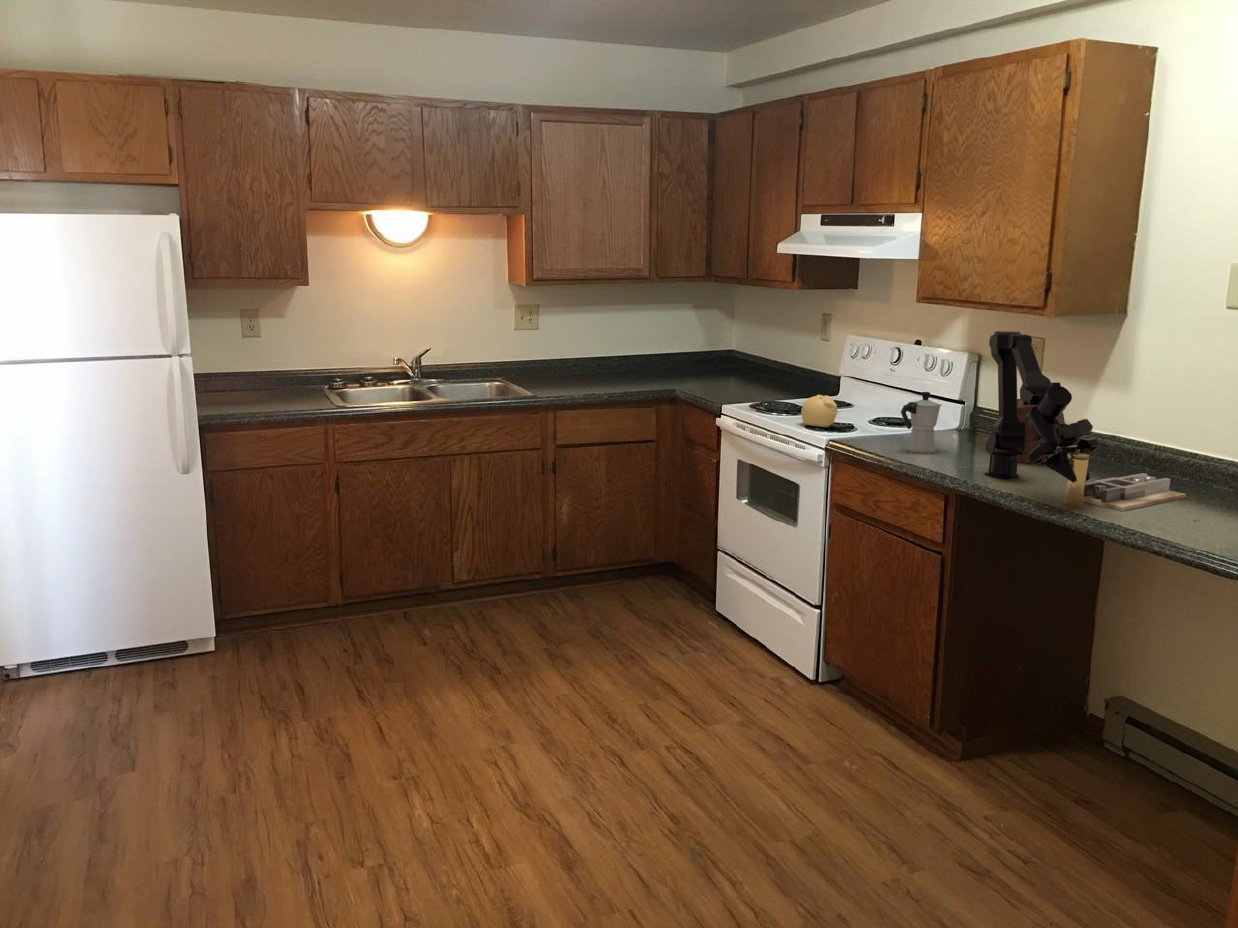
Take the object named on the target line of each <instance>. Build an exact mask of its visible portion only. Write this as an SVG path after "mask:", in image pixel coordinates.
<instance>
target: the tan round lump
mask: <svg viewBox="0 0 1238 928" xmlns="http://www.w3.org/2000/svg"><path fill="white" fill-rule="evenodd" d="M801 407H802V408H801V411H800V413H801V414H800V415H801V418H802V421H803V423H804V424H805V425H806V426H812V427H822V428H829V427H830V426H832V424H834V423H835V420H836V418H837V414H838V405H837V403H836V402H835V401H834V400H833V398H831V396H829V395H822V394H817V395H815V396H811V397H809V398H808V399H806V400H805V401H804V403H803V404H802V406H801Z"/></svg>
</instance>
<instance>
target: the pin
mask: <svg viewBox="0 0 1238 928" xmlns="http://www.w3.org/2000/svg"><path fill="white" fill-rule="evenodd" d="M1069 460H1070V463H1069V464H1070V466H1071V468H1072V470H1073V472H1074V474H1075V476H1076V478H1077V481H1076V482H1071V481H1070V480H1068V479H1067V478H1066V479H1067V481H1066V489H1065V492H1066V496H1065V497H1064V505H1063V506H1064V508H1067V509H1072V510H1073V509H1074V510H1080V509H1081V510H1082V509H1083V506H1084V502H1083V499H1084V491H1085V483H1087V481H1086V475H1087V467H1088V466H1089V460H1090V455H1089V454H1086V453H1078V452H1073V453H1070V459H1069ZM1088 468H1089V467H1088Z"/></svg>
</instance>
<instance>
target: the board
mask: <svg viewBox="0 0 1238 928" xmlns="http://www.w3.org/2000/svg"><path fill="white" fill-rule="evenodd" d="M1186 495H1187V494H1186V493H1182V492H1178V491H1174V490H1170V489H1169V490H1168V491H1163V492H1158V493H1153V494H1148V495H1145V496H1143V497H1138V498H1133V499H1128V500H1117V501H1112V502H1107V503H1104V502H1101V499H1095V498H1093V495H1092V496H1087V497H1084V499H1083V503H1086V504H1087V503H1088V504H1091V505H1095V506H1098V507H1099V506H1100V507H1104V508H1108V509H1112V510H1117V511H1120V512H1124V511H1129V510H1134V509H1138V508H1144V507H1148V506H1153V505H1157V504H1158V505H1159V504H1162V503H1163V504H1164V503H1168V502H1171V501H1178V500H1182V499H1186ZM1061 496H1062V497H1064V498H1065V496H1066V491H1062V493H1061Z"/></svg>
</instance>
